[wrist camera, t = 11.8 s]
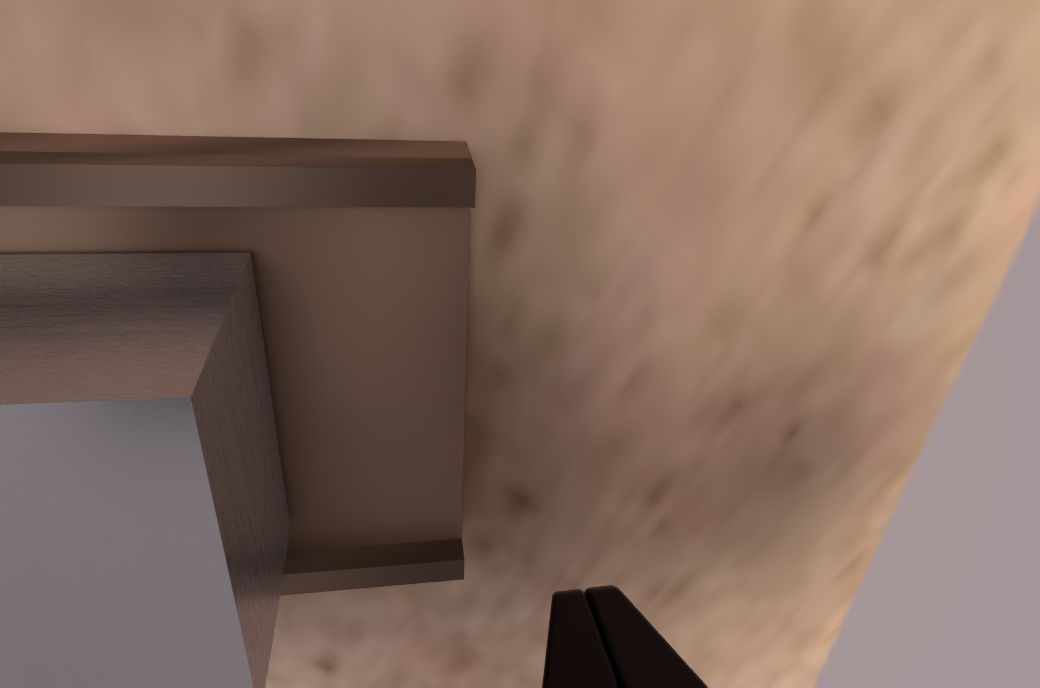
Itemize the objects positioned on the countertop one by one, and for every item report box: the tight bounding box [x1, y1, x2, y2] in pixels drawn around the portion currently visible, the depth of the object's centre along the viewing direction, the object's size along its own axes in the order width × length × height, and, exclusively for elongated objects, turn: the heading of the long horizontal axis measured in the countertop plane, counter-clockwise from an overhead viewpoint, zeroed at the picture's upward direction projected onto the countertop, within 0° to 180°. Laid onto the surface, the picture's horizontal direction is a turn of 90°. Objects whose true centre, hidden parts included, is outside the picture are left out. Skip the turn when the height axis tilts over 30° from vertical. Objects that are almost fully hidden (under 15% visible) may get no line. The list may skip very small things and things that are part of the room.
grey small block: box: [0, 253, 291, 688], centre depth 10 cm, size 5×6×4 cm
